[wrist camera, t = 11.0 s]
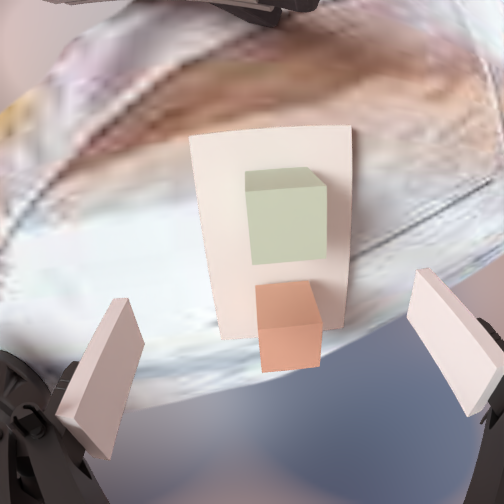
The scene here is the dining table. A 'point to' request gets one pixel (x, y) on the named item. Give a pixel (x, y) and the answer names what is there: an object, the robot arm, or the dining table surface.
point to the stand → (276, 274)
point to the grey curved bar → (243, 8)
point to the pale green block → (286, 215)
